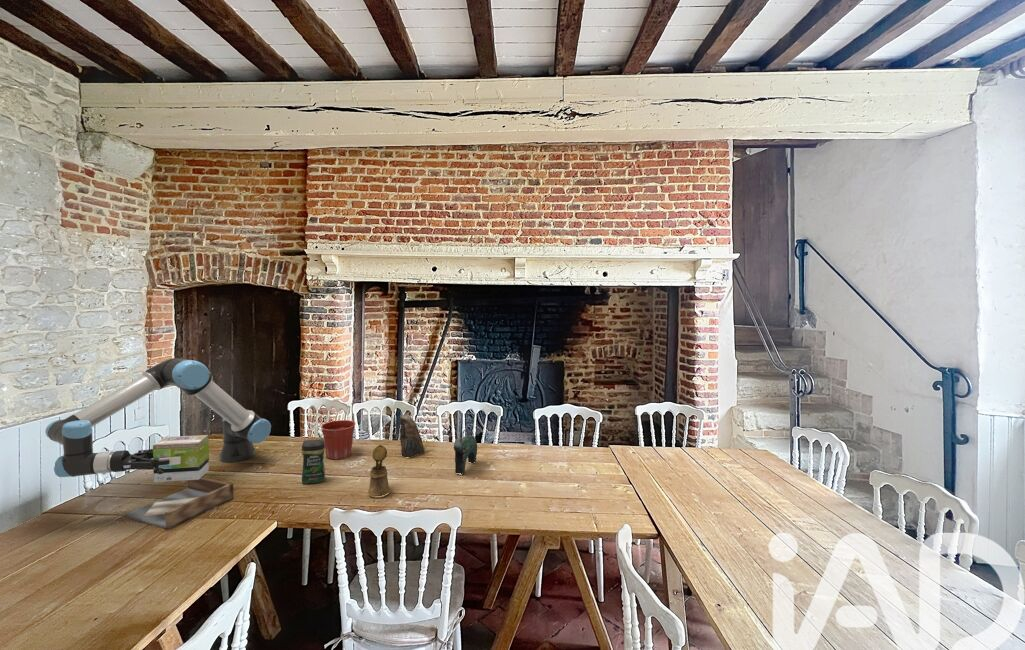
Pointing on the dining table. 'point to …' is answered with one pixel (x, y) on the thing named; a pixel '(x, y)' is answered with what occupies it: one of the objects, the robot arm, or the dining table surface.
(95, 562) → the dining table surface
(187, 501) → the wooden tray
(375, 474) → the brown bell
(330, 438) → the flower pot
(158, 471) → the tea box
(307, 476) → the coffee jar
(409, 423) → the owl
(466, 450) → the ceramic cat
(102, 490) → the dining table surface
